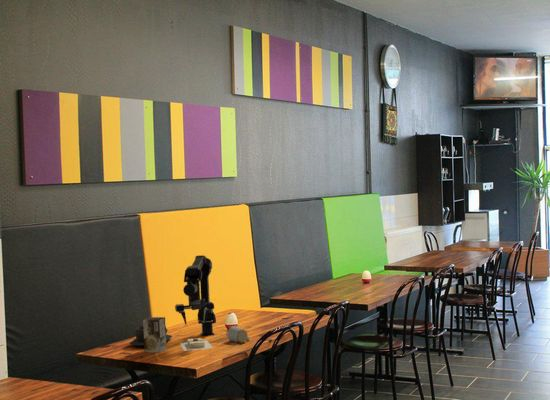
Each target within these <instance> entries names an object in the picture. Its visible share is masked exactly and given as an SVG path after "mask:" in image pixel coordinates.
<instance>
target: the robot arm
mask: <svg viewBox="0 0 550 400" xmlns="http://www.w3.org/2000/svg"><path fill="white" fill-rule="evenodd" d="M212 269H213V262H212V261H211V259H210V258H208V257H207V256H206V255H202V254H201V255H195V257H194V261H193V262H192V265H188V267H186V269H185V270H184V276H183V283H186V284H185V286H183V289H182V290H183V293H184V295H185V296H187V297H188V304H187V305H186V304H185V305H184V303H179V304H178V303H177V304H175V305H174V311H175V312H176V313H178V314H180V315H181V317H182V319H183V322H184V325H185V326H187V317H186V312H185V310H192V311H197V310H198V311H197V322H198V323H197V324H200V325H201V332H200V335H201V336H202V337H203V336H204V337H205V336H206V337H207V336H215V333H214V329H213V324H216V323H217V317H216V314H215V312H214V310H215V304H214V303H213V302H212V301H211V299H210V283H209V281H210V280H209V276H210V275H211V273H212Z"/></svg>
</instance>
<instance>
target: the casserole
mask: <svg viewBox="0 0 550 400" xmlns="http://www.w3.org/2000/svg"><path fill="white" fill-rule="evenodd" d="M165 327H166V342H168V341H169V340H170V339H171V338H173V336H172V334H167V333H168V331H169V330H168V328H167V326H166V325H165ZM133 334H135V338H134V339H133V340H132V341H130V342H129V344H130V346H131V345H132V346H138V347H139V346H141V347H142V346H144V327H143V325H140V326H138V327H137V326H136V328H135V330H134V332H133Z"/></svg>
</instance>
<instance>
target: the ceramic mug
mask: <svg viewBox="0 0 550 400" xmlns="http://www.w3.org/2000/svg"><path fill="white" fill-rule="evenodd" d="M226 336H227V339H228V340H229V341H230V342H234V343H238V344H243V343H245V342H246V341H250V339H251V338H250V337H249V336H248V331H246V330H245V329H244V328H242V327H239V326H236V325H233V326H230V327H229V329H228V330H227V334H226Z"/></svg>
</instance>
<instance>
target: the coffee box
mask: <svg viewBox="0 0 550 400" xmlns="http://www.w3.org/2000/svg"><path fill="white" fill-rule="evenodd" d="M142 324H143V325H142V326H143V327H144V353H162V352H164V351H166V350H167V349H168V348H167V341H166V335H167V333H166V329H167V326H166V317H164V316H163V317H161V316H148V317H147V318H144V319H142ZM165 326H166V327H165Z"/></svg>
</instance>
